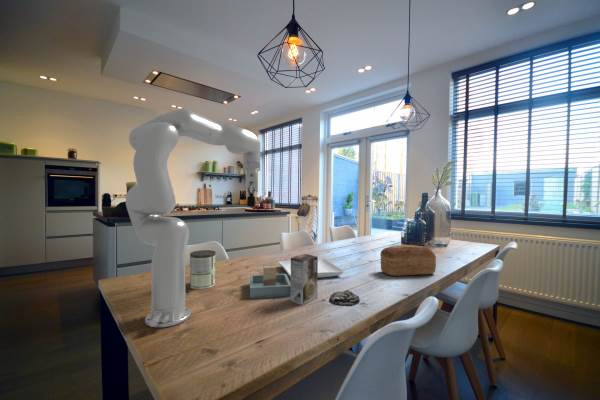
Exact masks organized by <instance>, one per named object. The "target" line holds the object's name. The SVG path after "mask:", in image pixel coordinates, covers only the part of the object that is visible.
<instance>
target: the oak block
mask: <svg viewBox="0 0 600 400" xmlns="http://www.w3.org/2000/svg"><path fill="white" fill-rule="evenodd" d="M262 266H263V268H262V269H263V270H262V271H263V273H262V275H263V286H276V274H277V265H276V263H268V264H267V263H265V264H263V265H262Z"/></svg>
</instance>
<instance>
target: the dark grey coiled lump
mask: <svg viewBox="0 0 600 400" xmlns="http://www.w3.org/2000/svg"><path fill="white" fill-rule="evenodd" d="M328 301H329V303H331V304H332V305H334V306H337V307H338V306H339V307H353V306H356V305H358V304H359V303H361V302H360V296H359V295H357V294H356V293H353V291H350V290H344V291H336V292H333V293H332V294H331V295H330V297H329V299H328Z"/></svg>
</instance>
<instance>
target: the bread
mask: <svg viewBox="0 0 600 400" xmlns="http://www.w3.org/2000/svg"><path fill="white" fill-rule="evenodd" d="M436 259H437V257H436V255H435V253H434V252H433V251H432V250H431V249H430V248H429V247H427V246H424V245H423V246H421V245H413V244H402V245H391V246H387V247H385V248H382V249H381V251H380V270H381V271H382V272H383V273H384V274H386V275H388V276H394V277H395V276H396V277H397V276H399V277H400V276H410V275H411V276H418V275H433V274H434V273H436V270H437V269H436V267H437V263H436V262H437V260H436Z"/></svg>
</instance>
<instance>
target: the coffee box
mask: <svg viewBox="0 0 600 400" xmlns="http://www.w3.org/2000/svg"><path fill="white" fill-rule="evenodd" d="M318 259H319V257H318V255H317V256H316V255H312V254H306V253H304V254H301V255H296V256H293V257H290V260H291V277H290V283H291V290H290V293H291V294H290V296H289V297H290V298H289V299H290V301H291V302H293V303H295V304H298V305H301V306H305V305H306V304H308V303H310V302H313V301H315V300H316V299H318V279H319V278H318Z"/></svg>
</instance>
